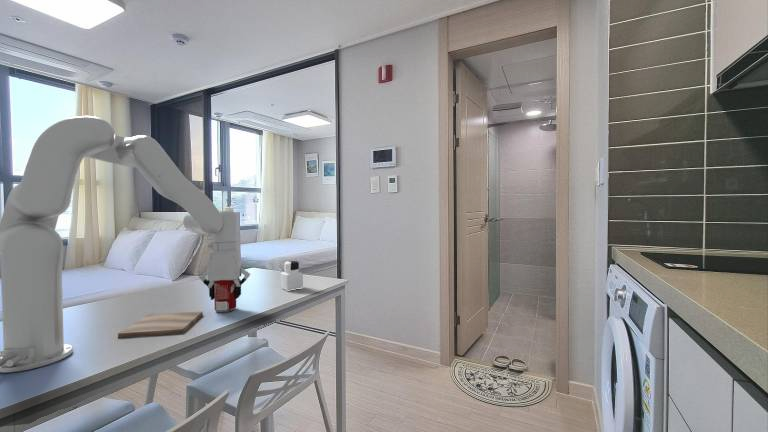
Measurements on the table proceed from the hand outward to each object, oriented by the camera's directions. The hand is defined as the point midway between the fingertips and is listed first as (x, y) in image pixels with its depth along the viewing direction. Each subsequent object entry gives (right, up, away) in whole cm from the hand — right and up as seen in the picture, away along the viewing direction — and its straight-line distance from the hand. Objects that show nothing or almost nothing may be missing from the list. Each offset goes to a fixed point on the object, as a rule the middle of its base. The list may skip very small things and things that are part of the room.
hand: (225, 297), depth 113 cm
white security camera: (+15, -4, +29) cm, 33 cm away
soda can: (0, -4, 0) cm, 4 cm away
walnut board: (-11, -5, -14) cm, 19 cm away
